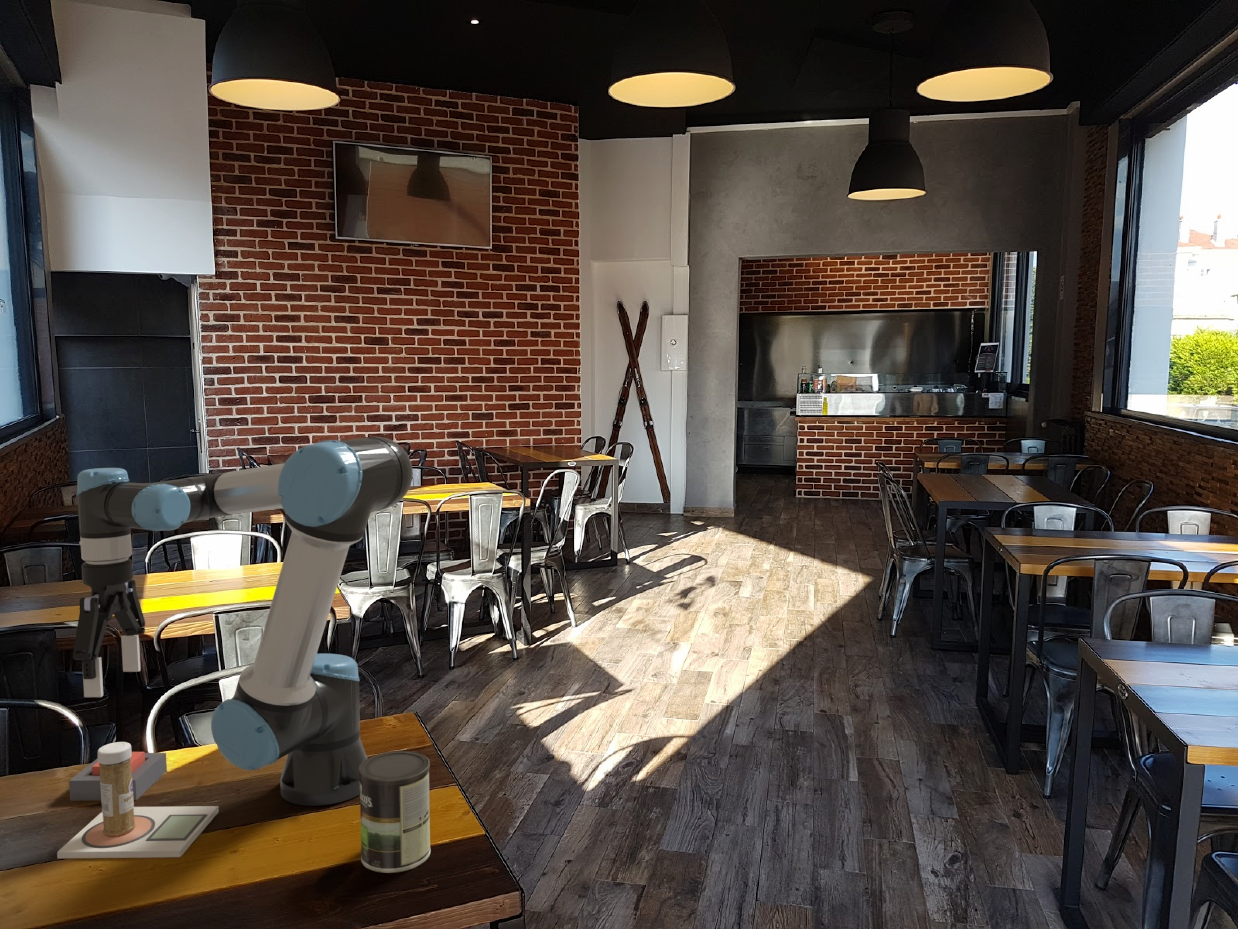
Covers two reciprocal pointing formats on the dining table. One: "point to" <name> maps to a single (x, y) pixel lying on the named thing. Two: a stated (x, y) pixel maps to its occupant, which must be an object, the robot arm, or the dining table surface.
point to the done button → (136, 761)
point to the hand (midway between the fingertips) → (113, 683)
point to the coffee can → (394, 811)
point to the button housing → (142, 778)
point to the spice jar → (116, 788)
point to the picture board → (143, 834)
